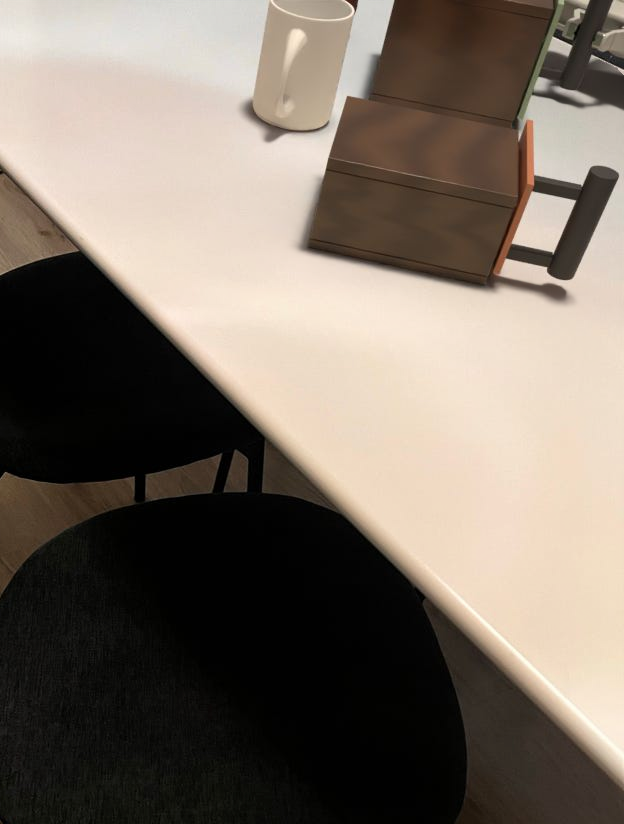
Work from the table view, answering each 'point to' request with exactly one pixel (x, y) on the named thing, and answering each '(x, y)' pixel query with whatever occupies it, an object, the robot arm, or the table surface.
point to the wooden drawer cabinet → (461, 56)
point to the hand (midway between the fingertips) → (584, 36)
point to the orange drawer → (579, 222)
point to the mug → (301, 62)
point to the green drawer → (578, 54)
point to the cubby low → (417, 190)
